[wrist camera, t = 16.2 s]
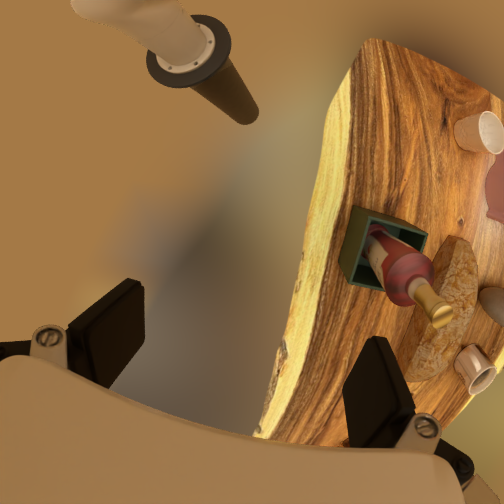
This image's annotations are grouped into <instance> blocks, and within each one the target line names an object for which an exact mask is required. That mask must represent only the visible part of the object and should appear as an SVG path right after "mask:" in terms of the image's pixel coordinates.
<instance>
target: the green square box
mask: <svg viewBox="0 0 504 504" xmlns="http://www.w3.org/2000/svg"><path fill="white" fill-rule="evenodd" d="M373 224H378V225H381V226H383V227H385V228H386V229H387V230H388V232H389V233H390V234H391V235H392V236H394V237H396V238H397V239H399V240H401V241H402V242H404V243H406V244H408V245H410V246H411V247H413V248H414V249H416V250H417V251H419V252H420V253H422V252H423V249H424V246H425V243H426V240H427V236H428V233H426V232H425V231H423V230H421V229H419V228H417V227H416V226H414V225H412V224H410V223H408V222H406V221H405V220H402V219H399V218H395V217H392V216H389V215H386V214H382V213H379V212H375V211H372V210H369V209H365V208H361V207H358V206H354V205H353V209H352V213H351V216H350V220H349V224H348V228H347V231H346V235H345V239H344V242H343V246H342V249H341V252H340V256H339V259H338V262H339V265H340V267H341V269H342V271H343V273H344V276H345V278H346V280H347V282H348V284H352V285H356V286H361V287H366V288H370V289H375V290H379V291H384V292H385V290H384V288H383V287H382V285H381V283H380V282H379V280H378V278H377V276H376V274H375V272H374V270H373V269H372V267H371V265H370V264H369V262H368V260H367V259H365V258H363V257H362V256H361V252H362V249H363V246H364V242H365V239H366V235H367V232H368V228H369V225H373Z"/></svg>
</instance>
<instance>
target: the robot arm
mask: <svg viewBox="0 0 504 504" xmlns="http://www.w3.org/2000/svg"><path fill="white" fill-rule="evenodd" d="M70 3H71V6H72V8H73V10H74V11H75V12H76V13H77V14H78V15H79V16H81V17H83V18H85V19H86V20H89V21H92V22H96V23H99V24H103V25H107V26H110V27H113V28H115V29H117V30H119V31H121V32H123V33H124V34H126V35H128V36H129V37H131V38H132V39H134V40H135V41H137V42H138V43H140V44H142V45H143V46H144V47H146V48H147V49H149V50H150V51H152V52H153V53H155V54H156V58H157V61H158V64H159V65H160V66H161V67H162V68H163V69H164V70H166V71H168V72H170V73H173V74H184V73H188V72H191V71H194V70H196V69H197V68H199V67H201V66H202V65H203V64H204V63H206V62H207V60H208V59H209V58H210V57H211V55H212V54H213V51H214V49H215V37H214V34H213V33H212V31H211V30H210V29H209V28H208V27H207V26H205V25H203V24H199V23H195V21H194V20H193V19H192V18H191V16H190V15H189V14H188V13H187V11H186V10H185V9H184V8H183V7H182V5H181V4H180V3H179V1H178V0H71V2H70ZM144 320H145V318H144V287H143V286H141V283H140V281H137V280H133V279H130V278H127V279H125V280H124V281H123V282H121V283H120V284H119V285H117V286H116V287H115V288H114V289H112V290H111V291H110V292H108V293H107V294H106V295H105V296H103V297H102V298H101V299H100V300H98V301H97V302H96V303H94V304H93V305H92V306H90V307H89V308H88V309H87V310H86V311H84V312H83V313H82V314H81V315H79V316H78V317H77V318H76V319H75V320H73V321H72V322H71V323H70V324H68V327H69V328H68V329H67V330H64V329H63V328H61V327H60V326H57V325H45V326H42V327H39V328H38V329H37V330H36V331H35V332H34V333H33V336H32V340H27V341H14V342H0V504H500V501H499V498H498V496H497V495H496V494H495V493H494V492H493V491H492V489H490V487H489V486H488V485H487V484H486V483H485V482H484V481H483V480H482V479H481V477H480V476H479V475H478V474H476V475H475V476H474V475H473V474H474V464H473V461H472V460H471V459H470V457H469V456H467V455H466V454H464V453H463V452H461V451H460V450H458V449H456V448H455V447H453V446H452V445H450V444H448V443H447V442H445V441H444V440H442V439H441V438H440V437H441V433H442V428H441V425H440V423H439V421H438V420H437V419H436V418H435V417H433V416H432V415H430V414H428V413H417V414H416V413H415V410H414V409H415V408H416V406H415V404H414V401H413V399H412V396H411V393H410V391H409V388H408V386H407V384H406V381H405V379H404V376H403V374H402V371H401V369H400V367H399V364H398V362H397V360H396V358H395V355H394V353H393V351H392V349H391V346H390V344H389V342H388V340H387V338H385V337H380V336H372V337H371V339H370V338H369V339H367V341H366V342H365V344H364V347H363V349H362V351H361V353H360V355H359V357H358V358H357V360H356V362H355V364H354V366H353V368H352V370H351V372H350V374H349V375H348V377H347V379H346V381H345V383H344V385H343V389H342V393H343V399H344V406H345V413H346V421H347V428H348V436H349V445H350V448H344V447H326V446H314V445H304V444H295V443H288V442H281V441H274V440H268V439H262V438H257V437H252V436H247V435H242V434H237V433H233V432H229V431H225V430H221V429H217V428H213V427H209V426H205V425H202V424H199V423H195V422H192V421H189V420H186V419H182V418H179V417H176V416H173V415H170V414H167V413H164V412H162V411H159V410H156V409H154V408H151V407H148V406H146V405H143V404H141V403H138V402H136V401H133V400H131V399H129V398H126V397H124V396H122V395H120V394H118V393H115V392H113V391H111V390H109V388H110V386H111V385H112V384H113V382H114V381H115V379H116V378H117V377H118V376H119V374H120V373H121V372H122V371H123V369H124V368H125V367H126V365H127V364H128V363H129V361H130V360H131V359H132V358H133V356H134V355H135V354H136V352H137V351H138V350H139V349H140V347H141V346H142V344H143V343H144V340H145V321H144Z"/></svg>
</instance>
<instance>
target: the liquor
mask: <svg viewBox="0 0 504 504" xmlns="http://www.w3.org/2000/svg"><path fill="white" fill-rule="evenodd" d="M361 256H362V257H363V258H365V259H367V260H368V262H369V264H370V265H371V267H372V269H373V270H374V272H375V274H376V276H377V278H378V280H379V282H380V283H381V285H382V287H383V288H384V290H385V292H386V294H387V296H388V297H389V299H390V300H391V301H392V302H393V303H394V304H396V305H398V306H403V307H407V306H412V305H415V304H418V305H419V306H420V307H421V308H422V309H423V310H424V312H425V314H426V317H427V319H428V320H429V321H430V323H431V324H432V325H433V327H434V328H436V329H441V328H444V327H445V326H447V325H448V324H449V322H450V321H451V319H452V317H453V309H452V307H451V306H450V305H449V304H448V303H447V302H446V301H445V300H444V299H443V298H441V297H439V296H437V294H436V293H435V291H434V290H433V289H432V286H433V283H434V278H435V270H434V266H433V264H432V262H431V261H430V259H429V258H428V257H426V256H425V255H424V254H422V253H420V252H419V251H417V250H416V249H414V248H413V247H411V246H410V245H408V244H406V243H404V242H402V241H401V240H399V239H397V238H396V237H394V236H392V235H391V234H390V233H389V232H388V230H387V229H386V228H385V227H383V226H381V225H378V224H373V225H369V228H368V232H367V235H366V239H365V242H364V246H363V249H362V252H361Z"/></svg>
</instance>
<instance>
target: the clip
mask: <svg viewBox="0 0 504 504" xmlns="http://www.w3.org/2000/svg"><path fill="white" fill-rule="evenodd" d="M485 194H486V200H487V203H488V206H489V211H488V212H487V214H486V215H487V217H488V218H491V219H493V220H496V221H498V222H501V223H503V224H504V149H503V151H502V152H501V153H500V154H496V162H495V164H494V165H493V166H492V167H491V169H490V170H489V172H488V175H487V178H486V184H485Z"/></svg>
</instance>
